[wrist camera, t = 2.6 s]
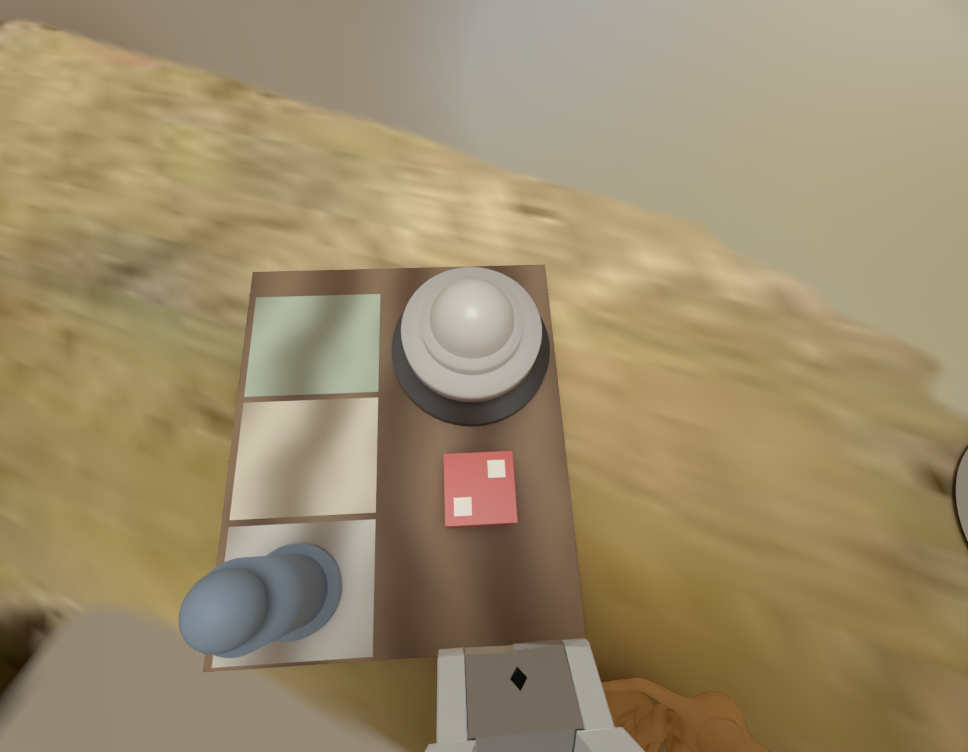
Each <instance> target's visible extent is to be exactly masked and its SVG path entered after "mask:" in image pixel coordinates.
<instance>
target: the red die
mask: <svg viewBox="0 0 968 752" xmlns="http://www.w3.org/2000/svg"><path fill="white" fill-rule="evenodd" d="M444 492H445V527H447V528H448V529H451V528H470V527H488V526H506V525H513V524H515V523H518V521H517V507H516V494H515V480H514V467H513V453H512V451H498V452H477V453H455V454H444Z"/></svg>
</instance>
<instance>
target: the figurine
mask: <svg viewBox="0 0 968 752" xmlns="http://www.w3.org/2000/svg"><path fill="white" fill-rule="evenodd" d="M601 683H602V686H603V690H604V693H605V696H606V700H607V703H608V706H609V710H610V713H611V716H612V720H613V723H614V726H615V727H623V728H624V729H625V730H626V731H627V732H628V733H629V734H630V735H631V737H632V738H633V739H634V740H635V741H636V742H637V743H638V744H639V745H640V746H641V747H642V749H643V750H644V751H645V752H659V749H660V746H661V742H662V741H664V740H665V743H666V747H667V752H769V751H768V750H766V749H765V748H764V747H763V746H761V745H760V744H758V743H757V742H756V740H755V739H754V738H753V737H752V736H751V735H750V734H749V732H748V731H747V729H746V720H745V716H744V714H743V712H742V710H741V709H740V707H739V706H738V705H737V703H736V702H735V701H734V700H732V699H731V698H730V697H728V696H727V695H724V694H722V693H719V692H705V693H702V694H700V695H698V696H696V697H694V698H688V697H684V696H681V695H678V694H675V693H673V692H672V691H670V690H668V689H666V688H664V687H662V686H660V685H658V684H656V683H654V682H652V681H649V680H647V679H644V678H639V677H634V678H629V679H619V680H612V681H609V682H602V681H601ZM645 693H646V694H647V695H649V696H650V697H651V698H653V699H654V700H656V701H658V702H659V703H661V704H656V705H654V704H653V703H652V701H651V700H650V699H649V697H648V696H647V695H646V694H645ZM667 707H668V708H667ZM669 709H671V710H673V711H670V710H669Z"/></svg>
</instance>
